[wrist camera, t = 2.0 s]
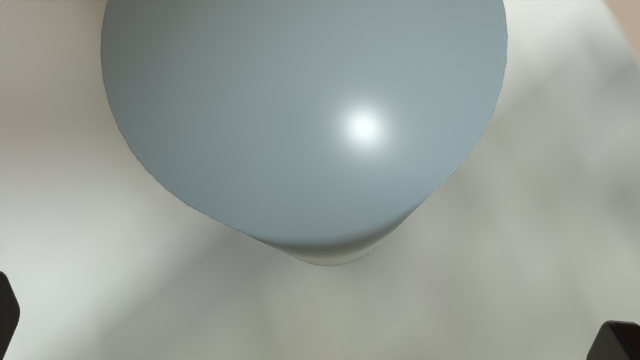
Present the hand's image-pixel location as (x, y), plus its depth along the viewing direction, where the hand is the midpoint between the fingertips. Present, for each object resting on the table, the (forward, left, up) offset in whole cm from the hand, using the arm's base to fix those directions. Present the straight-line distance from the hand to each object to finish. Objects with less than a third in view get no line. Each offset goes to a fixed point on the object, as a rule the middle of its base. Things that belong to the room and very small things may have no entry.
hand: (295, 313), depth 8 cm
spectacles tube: (+3, -1, -10) cm, 11 cm away
